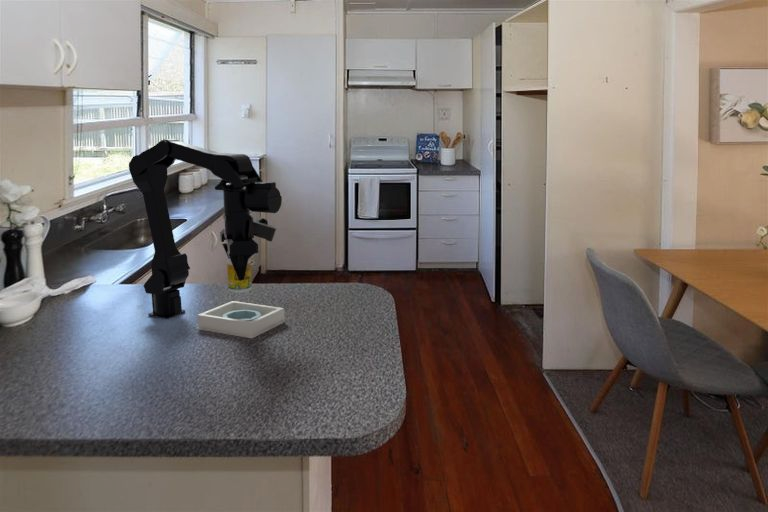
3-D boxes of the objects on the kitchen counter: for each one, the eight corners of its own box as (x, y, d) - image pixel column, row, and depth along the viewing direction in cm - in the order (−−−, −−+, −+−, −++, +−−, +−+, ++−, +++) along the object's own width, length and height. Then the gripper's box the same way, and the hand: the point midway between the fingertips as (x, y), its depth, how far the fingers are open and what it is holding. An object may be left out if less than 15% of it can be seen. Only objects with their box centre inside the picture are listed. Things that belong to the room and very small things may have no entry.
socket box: (198, 329, 152) (197, 314, 151) (233, 314, 163) (232, 300, 163) (252, 338, 146) (251, 323, 145) (284, 322, 157) (283, 308, 156)
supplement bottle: (246, 285, 156) (245, 246, 154) (255, 290, 152) (254, 250, 150) (224, 289, 153) (223, 248, 151) (233, 294, 149) (231, 252, 147)
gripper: (280, 214, 143) (282, 283, 146) (265, 203, 160) (267, 266, 163) (228, 216, 139) (231, 288, 142) (218, 205, 156) (221, 269, 160)
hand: (239, 277), depth 152 cm, fingers closed on supplement bottle, 5 cm apart
